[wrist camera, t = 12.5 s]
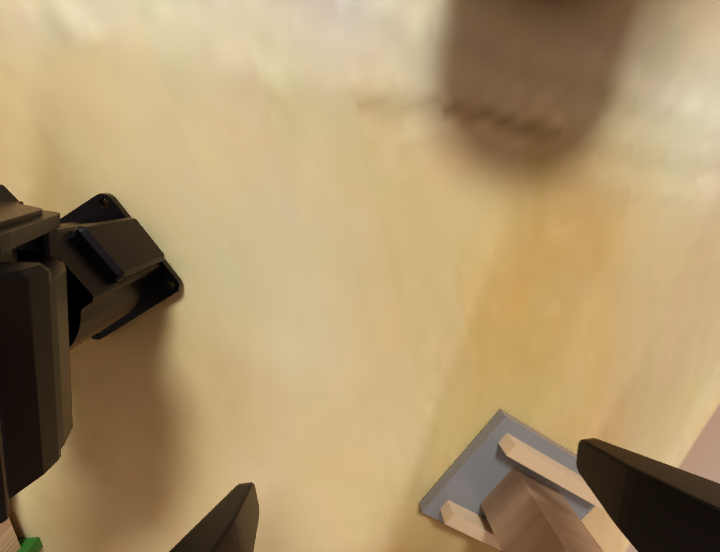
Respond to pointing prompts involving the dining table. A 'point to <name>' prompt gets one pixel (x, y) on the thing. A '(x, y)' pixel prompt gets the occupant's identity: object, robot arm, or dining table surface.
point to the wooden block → (534, 517)
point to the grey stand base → (491, 464)
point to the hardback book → (16, 540)
